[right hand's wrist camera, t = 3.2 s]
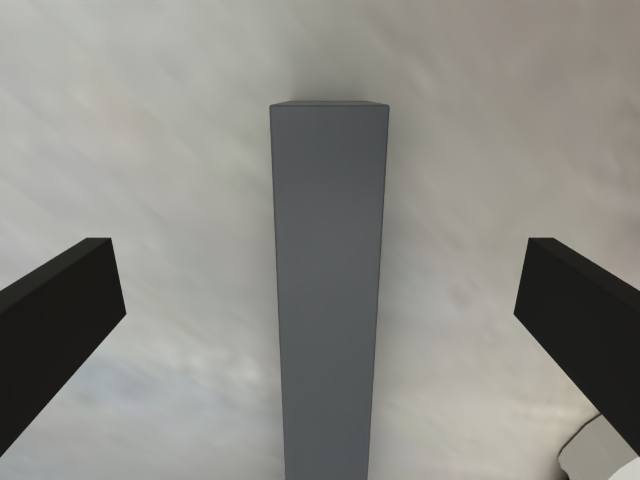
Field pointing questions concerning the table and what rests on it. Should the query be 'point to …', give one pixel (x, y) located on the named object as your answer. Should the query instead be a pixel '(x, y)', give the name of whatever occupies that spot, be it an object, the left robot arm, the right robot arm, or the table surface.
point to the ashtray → (599, 454)
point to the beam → (328, 278)
